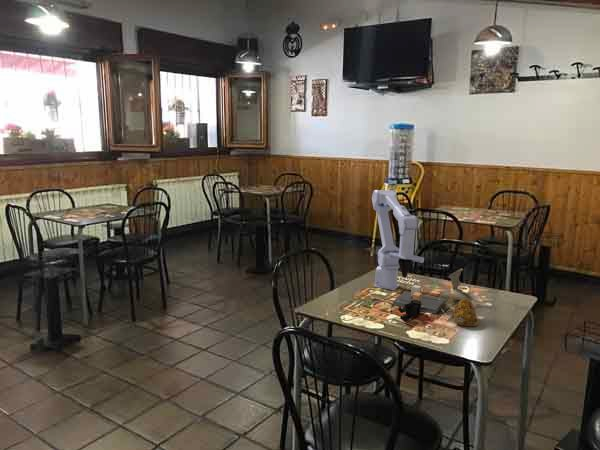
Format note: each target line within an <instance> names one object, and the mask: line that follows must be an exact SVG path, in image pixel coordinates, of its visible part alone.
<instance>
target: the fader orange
mask: <svg viewBox="0 0 600 450" xmlns="http://www.w3.org/2000/svg"><path fill="white" fill-rule="evenodd" d="M422 295H423V293H422V292H420V293H419V292H415V293H414V294H413V298H412V300H419V301H421V298H422Z"/></svg>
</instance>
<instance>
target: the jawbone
mask: <svg viewBox="0 0 600 450" xmlns="http://www.w3.org/2000/svg"><path fill="white" fill-rule="evenodd" d="M463 271H464V269H463V268H460V269H457V270H456V271H454V272H452V273H451V274H449V275H448V279H451V280H450V281H451V286H452V287H451V289H452V291H453V295H455V297H454V300H456V301H457V300H459V301H461V300H463V299H467V300H469V301H470V302H472V300H473V298H472V297H468V296H466V295H465V294H463V292H464V291H463V289H461V288H458V287H460V285H461V281H460V279H459V278H460V276H461V273H462V272H463Z"/></svg>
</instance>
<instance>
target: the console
mask: <svg viewBox="0 0 600 450" xmlns="http://www.w3.org/2000/svg"><path fill="white" fill-rule="evenodd" d="M412 298H413V296H411V291H404V292H402V293H401V294H400V295H399V296H398V297H396V298H395V299H394V300H393V301H392V306H397V307H401V308H404V305H405V304H409V302H410V303H411V301H412ZM445 303H446V299H445V298H443V297H436V296H432V295H431V296H430V295H426V294H422V298H421V312H426V313H430V314H434V315H436V314H437V312H439V310H440V309H441V308H442V306H444V304H445Z"/></svg>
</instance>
